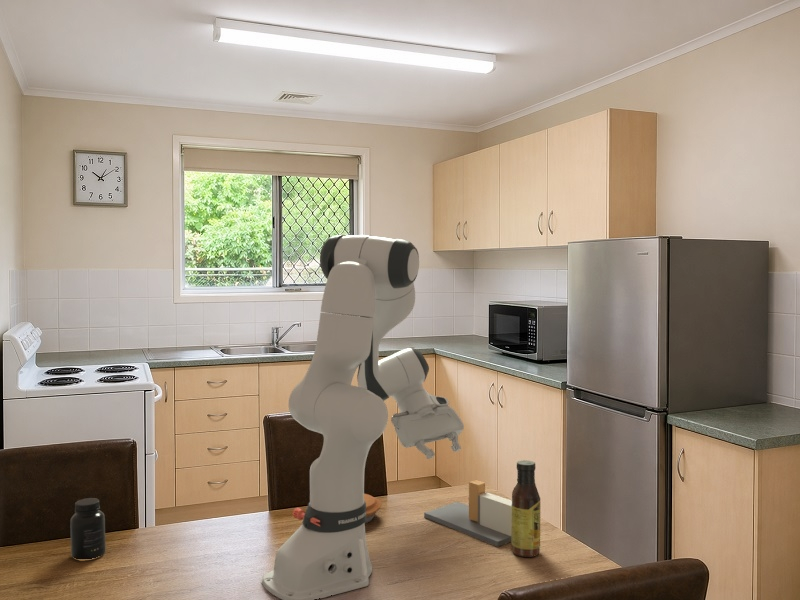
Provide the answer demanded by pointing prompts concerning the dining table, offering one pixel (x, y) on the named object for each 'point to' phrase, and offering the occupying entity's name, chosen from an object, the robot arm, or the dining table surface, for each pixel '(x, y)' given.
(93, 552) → the supplement bottle
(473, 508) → the tan wooden beam
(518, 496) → the sauce bottle
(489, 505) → the grey base plate
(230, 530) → the dining table surface
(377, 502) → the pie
